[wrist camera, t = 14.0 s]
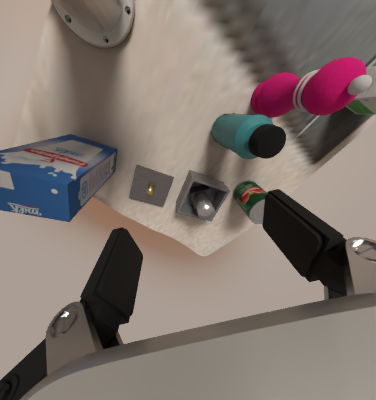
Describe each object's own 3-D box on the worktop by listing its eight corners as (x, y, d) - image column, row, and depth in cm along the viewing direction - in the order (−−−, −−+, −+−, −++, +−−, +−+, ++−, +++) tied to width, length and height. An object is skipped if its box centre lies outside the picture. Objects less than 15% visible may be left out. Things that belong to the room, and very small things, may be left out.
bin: (176, 201, 44) (176, 212, 40) (189, 169, 39) (192, 177, 35) (207, 210, 47) (211, 221, 43) (223, 182, 42) (230, 191, 38)
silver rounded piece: (189, 187, 42) (194, 207, 33) (206, 183, 41) (215, 202, 33) (192, 202, 44) (198, 223, 36) (209, 198, 44) (218, 218, 36)
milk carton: (71, 160, 35) (-22, 206, 18) (70, 134, 32) (-43, 159, 15) (115, 172, 37) (69, 222, 21) (117, 148, 34) (67, 185, 18)
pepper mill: (285, 80, 31) (426, 42, 14) (272, 118, 35) (369, 125, 18) (255, 75, 30) (366, 27, 13) (244, 115, 34) (320, 118, 17)
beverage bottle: (215, 147, 37) (253, 178, 20) (205, 121, 33) (240, 132, 17) (238, 134, 36) (300, 155, 19) (230, 106, 32) (297, 101, 15)
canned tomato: (245, 205, 48) (263, 228, 39) (228, 195, 45) (242, 217, 36) (262, 187, 45) (286, 207, 36) (245, 175, 42) (266, 193, 33)
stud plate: (129, 196, 42) (126, 203, 38) (137, 164, 37) (134, 169, 34) (162, 205, 44) (162, 212, 41) (173, 177, 40) (173, 182, 37)
